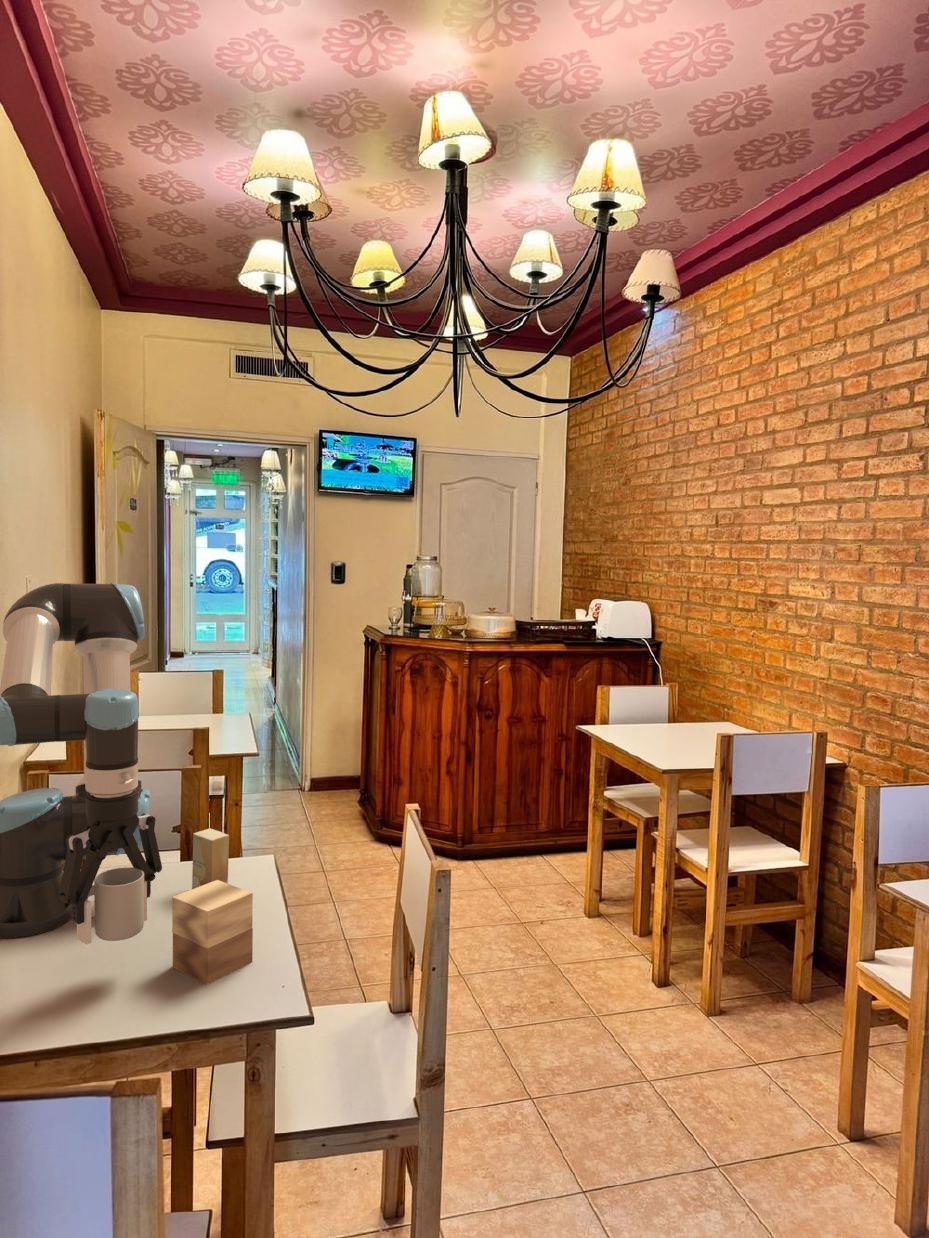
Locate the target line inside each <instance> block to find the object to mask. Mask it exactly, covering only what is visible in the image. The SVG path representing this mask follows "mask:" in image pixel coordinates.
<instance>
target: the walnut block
mask: <svg viewBox="0 0 929 1238" xmlns="http://www.w3.org/2000/svg"><path fill="white" fill-rule="evenodd" d="M253 933H254V929H253V927H252V928H251V929H249V930H247V931H245V932H243V933H240V934H238V935H236V936H234V937H232V938H229V939H227V940H225V941H223V942H221V943H219V944H216V945H214V946H212V947H210V948H205V947H203V946H201V945H199V944H197V943H194V942H192V941H190V940H188V939H186V938H183V937H181V936H179V935H177V934H175V933H172V968H174V969H176V970H178V971H179V972H182V973H185V974H186V975H188V976H190V977H192V978H194V979H197V980H198V981H199V982H202V983H204V984H206V985H209V984H211V983H214V982H216V981H217V980H220V979H222V978H223V977H225V976H228V975H229V974H231V973H233V972H235V971H238V970H239V969H241V968H243V967H245V966H247V965H249V964H252V963H253V936H254V935H253Z"/></svg>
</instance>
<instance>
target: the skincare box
mask: <svg viewBox="0 0 929 1238" xmlns="http://www.w3.org/2000/svg"><path fill="white" fill-rule="evenodd" d="M192 844H193V845H192V872H191V873H192V876H191V882H192V883H191V890H192V889H195V888H197V887H200V886H202V885H205V884H208V883H210V882H213V881H216V880H219V881H222V882H225V883H227V884H229V854H230V851H229V850H230V848H229V847H230V845H229V844H230V835H229V834H227V833H225V832H222V831H219V830H216V829H213V828H211V827H209V828H207V829H204V830H200V831H196V832H194V833H193V834H192Z"/></svg>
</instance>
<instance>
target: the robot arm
mask: <svg viewBox="0 0 929 1238" xmlns="http://www.w3.org/2000/svg"><path fill="white" fill-rule="evenodd" d="M144 618H145V617H144V612H143V605H142V600H141V597H140V594H139V590H138V589H137V588H136V587H135V586H133V585H131V584H121V583H120V584H118V583H114V582H112V583H111V582H110V583H64V582H62V583H61V582H60V583H59V582H54V583H49V584H45V585H42V586H39V587H37V588H35V589H33V590H30V591H29V592H27V593H25V594H23V595H22V596H21V597H20V598H19V599H17V600H16V601H15V602H13V604H12V605H11V606H10V607H9V609H8V611H7V612H6V614H5V616H4V620H3V625H2V635H3V637H4V639H5V641H6V646H5V653H4V659H3V666H2V667H3V668H2V672H1V673H2V674H1V680H0V746H8V747H12V746H13V747H14V746H17V745H18V746H20V745H31V744H43V743H55V742H56V743H57V742H59V743H61V742H63V743H64V742H78V741H83V758H84V759H83V762H84V763H83V768H84V769H83V775H84V776H83V777H82V778H81V779H80V781H78V783H76V785H75V794H74V795H70V796H68V795H67V796H64V793H63V792H62V790H61V789H60V788H56V787H50V788H49V787H42V788H34V789H29V790H25V791H21V792H17V793H14V794H12V795H10V796H9V795H8V796H7V797H5V798H3V799H1V800H0V939H1V938H2V939H8V938H9V939H10V938H11V939H13V938H23V937H24V938H25V937H30V936H34V935H38V934H43V933H45V932H49V931H52V930H54V929H56V928H59V927H61V926H62V925H64V924H65V923H67V922H68V921H70V920H72V922H73V923H75V924H76V940H78V941H80V942H81V943H82V944H84V945H89V944H91V943H92V927H91V917H92V901H90V900H86V899H87V897H88V894H89V892H90V889H91V887H92V885H94V879H95V877H96V876H97V875H98V871H99V870H100V868H101V865H102V862H103V860H105V859H106V858H107V857H108V856H119V855H121V854H122V855H123V854H126V857H127V858H128V860H129V861H130V864H131V865H132V867H133V868H138V869H140V870H142V871H143V872H144V922H145V921H147V920H148V916H147V915H148V898H150V897H151V893H152V892H151V890H152V889H151V885H152V884H151V883H152V882H153V881H155V879H156V874H158V873H160V872H161V871H162V870H163V865H162V859H161V855H160V851H159V847H158V841H157V837H156V832H155V825H156V817H155V816H153V815H150V814H149V812H150V811H149V810H150V795H151V792H150V790H149V789H147V788H146V787H145V788H142V779H140V777H139V751H138V750H139V718H140V711H139V710H140V709H139V704H138V703H139V702H138V696H137V694H136V693H135V692H134V691H131V689H132V688H131V657H130V656H131V655H133V653H134V652H135V651H137V648H138V642H140V641H141V640H144V638H145V634H146V633H145V632H146V631H145V622H144V621H145V619H144ZM57 642H74V650H75V651H76V653H78V654H79V655H80V656H82V659H83V661H82V663H83V664H82V666H83V671H82V672H83V675H82V676H83V677H82V678H83V693H77V694H76V693H75V694H74V693H73V694H55V695H51V693H52V673H53V657H54V655H53V654H54V644H55V643H57ZM141 848H142V850H143V853H142V851H141V850H140V849H141ZM83 860H84V861H83Z"/></svg>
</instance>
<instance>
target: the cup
mask: <svg viewBox="0 0 929 1238" xmlns="http://www.w3.org/2000/svg"><path fill="white" fill-rule="evenodd" d="M90 897H94V898H93V899H94V916H91V928H94V934H95V935H96V937H97V938H98V939H101V940H102V941H106V942H107V941H108V942H117V941H119V942H120V941H124V940H127V939H131V938H133V937H135V936H137V935H138V934H140V933H141V931H142V930H143V928H144V925H145V921H144V872H143V871H142V870H140V869H138V868H133V866H132V867H131V866H124V867H123V866H122V867H115V868H110V869H106V870H104V871H102V872H100V873H97V875H96V877H95V879H94V882H93V884H92V887H91V889H90V892H89V894H88V897H87V899H86V900H88V899H89V898H90ZM88 901H89V900H88Z"/></svg>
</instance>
